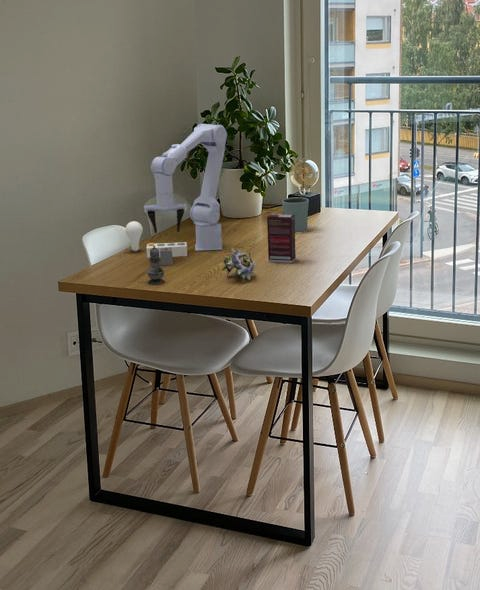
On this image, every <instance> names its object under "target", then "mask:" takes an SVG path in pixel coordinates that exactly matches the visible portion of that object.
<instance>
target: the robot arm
mask: <svg viewBox="0 0 480 590" xmlns="http://www.w3.org/2000/svg"><path fill="white" fill-rule="evenodd" d="M227 136H228V132H227V130H226V128H225V127H224V125H222V124H210V123H209V124H207V123H199V124H198V125H197V126H196V127H194V128H193V132H192V133H190V134H189V135H188V136H187V137H186V139H184V141H182V143H181V144H179V143H176V144H172V145H171V148H169V149H168V150H167V151H165V152H163V153H162V155H161V156H156V157H154V159H153V160H152V161H151V165H150V171H151V173H153V179H154V181H155V193H156V194H155V196H156V204H152V205H151V204H150V205H143V212H144V213H146V214H147V216H148V218H149V220H150V222H151V224H152V227H153V230H154V233H155V234H158V233H157V230H158V229H157V222H156V221H157V220H156V212H173V211H176V220H177V221H176V222H177V223H176V231H177V233H180V229H181V228H180V227H181V222H182V219H183V217H184V215H185V211H188V205H187V203H175V202H174V200H175V199H174V184H173V174H174V172H175V171H176V167H178V165H179V164H180V163H181V162H183V161H184V160H185V159H186V158H187V156H188V152H190V151H191V150H192V149H194V148H195V147H196V146H198V145H199V144H201V145H202V146H203V147H204V148H205V149H206V151H207V152H208V155H207V160H206V165H205V169H204V170H205V171H204V175H203V179H202V180H203V181H202V185H201V191H200V195H199V196H198V197H197V198H195V199H194V200H193V205H192V206H191V208H190V212H189V216H190V219H191V220H192V221H193V224H194V225H195V242H196V243H195V244H194V247H195V251H196V252H200V251H201V252H202V251H220V250H223V243H224V242H223V238H222V236H223V235H222V223H218V222H219V220H220V217H221V213H220V212H221V211H220V208H221V204H220V203H219V202H218V200H217V199H216V196H217V191H218V186H219V183H220V182H219V181H220V176H221V171H222V166H223V162H224V157H225V151H226V143H227V142H226V141H227Z"/></svg>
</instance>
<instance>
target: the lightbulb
mask: <svg viewBox="0 0 480 590" xmlns="http://www.w3.org/2000/svg"><path fill="white" fill-rule="evenodd" d="M143 228H144V227H143V225H142V224H141V223H140V222H138V221H136V220H135V221H134V220H133V221H129V222H128V223H126V226H125V234H126V235H127V237H128V239H129V242H130V245H131V250H132V251H133V252H137V251H139V249H140V247H139V246H140V240H141V236H142V234H143Z"/></svg>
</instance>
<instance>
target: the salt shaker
mask: <svg viewBox="0 0 480 590" xmlns="http://www.w3.org/2000/svg"><path fill="white" fill-rule="evenodd" d="M148 259H149V263H150V267H149V269H147V270H146V274H147V276H148V278H149V280H148V281H147V283H148V284H149V283H150V284H149V285H160V284H161V285H162V284H164V283H165V282H166V281H165V280H164V279H163V277H164V275H165V272H166V271H165V269H164V268H161V259H160V257H159V250H158V249H157V248H155V246H153V248H152V249H151V250H150V258H148Z"/></svg>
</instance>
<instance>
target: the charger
mask: <svg viewBox="0 0 480 590" xmlns="http://www.w3.org/2000/svg"><path fill="white" fill-rule="evenodd" d="M159 258H160V259H161V260H160V266H173V264H174V261H173V258H174V257H172V248H160V257H159Z"/></svg>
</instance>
